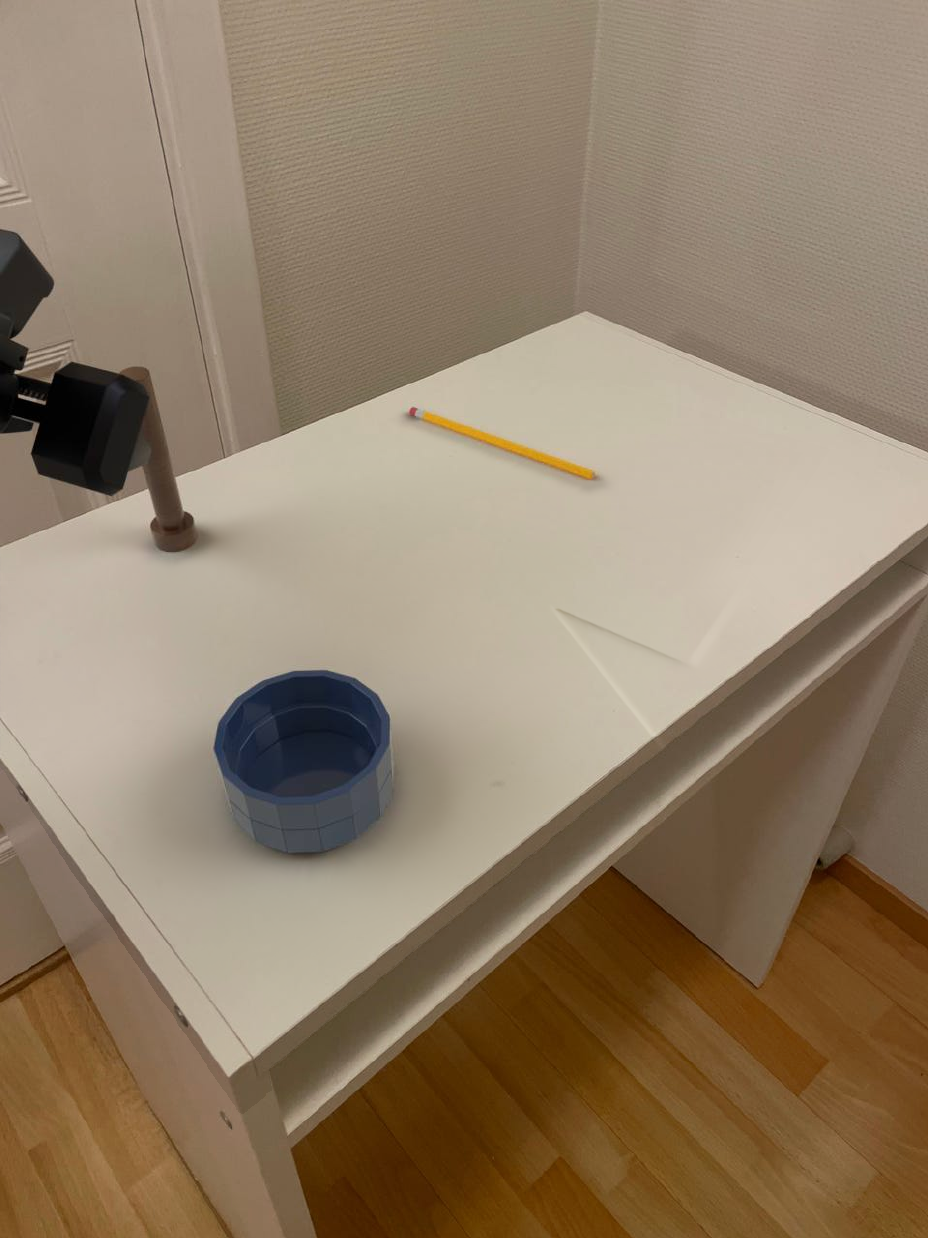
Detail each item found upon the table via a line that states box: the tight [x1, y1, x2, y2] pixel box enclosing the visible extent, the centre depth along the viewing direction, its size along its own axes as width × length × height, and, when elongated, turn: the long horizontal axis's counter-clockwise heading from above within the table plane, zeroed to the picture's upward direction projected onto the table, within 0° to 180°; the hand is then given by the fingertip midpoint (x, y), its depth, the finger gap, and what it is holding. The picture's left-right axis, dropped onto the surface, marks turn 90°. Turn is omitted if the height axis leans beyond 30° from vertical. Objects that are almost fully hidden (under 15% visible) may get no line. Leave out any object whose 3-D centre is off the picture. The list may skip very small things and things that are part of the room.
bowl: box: [212, 669, 395, 854], centre depth 53 cm, size 9×9×5 cm
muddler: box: [118, 366, 198, 553], centre depth 67 cm, size 3×3×14 cm
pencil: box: [408, 406, 596, 481], centre depth 81 cm, size 1×18×1 cm, turn 57°
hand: (88, 438), depth 60 cm, fingers open, 9 cm apart
